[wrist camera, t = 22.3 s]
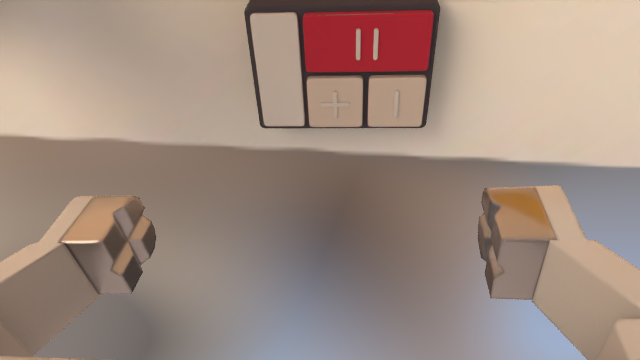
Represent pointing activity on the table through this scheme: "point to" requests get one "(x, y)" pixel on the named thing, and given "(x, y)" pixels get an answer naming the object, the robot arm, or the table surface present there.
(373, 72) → the calculator
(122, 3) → the table surface
